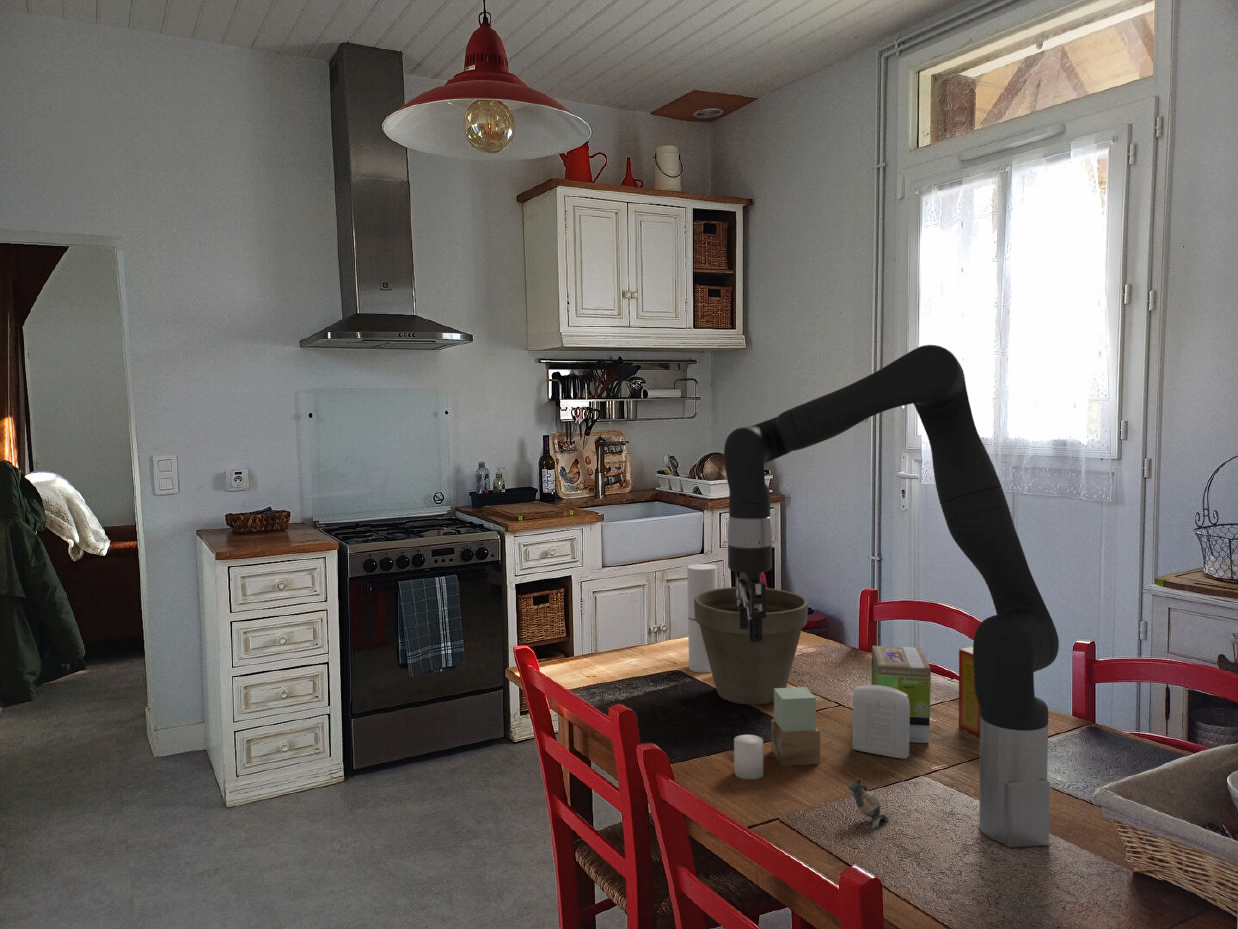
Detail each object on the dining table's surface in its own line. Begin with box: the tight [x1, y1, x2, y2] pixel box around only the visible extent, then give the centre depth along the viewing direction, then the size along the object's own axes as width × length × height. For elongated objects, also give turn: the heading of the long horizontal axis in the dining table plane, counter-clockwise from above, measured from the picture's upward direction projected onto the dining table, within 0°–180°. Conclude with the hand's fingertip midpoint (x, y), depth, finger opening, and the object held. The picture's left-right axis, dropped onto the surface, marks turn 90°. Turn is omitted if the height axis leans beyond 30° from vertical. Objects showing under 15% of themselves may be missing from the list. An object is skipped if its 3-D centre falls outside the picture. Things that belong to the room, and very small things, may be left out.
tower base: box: [770, 718, 821, 767], centre depth 164 cm, size 7×7×6 cm
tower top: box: [773, 686, 817, 732], centre depth 163 cm, size 6×6×6 cm
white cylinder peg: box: [733, 734, 764, 780], centre depth 157 cm, size 5×5×6 cm
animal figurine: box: [847, 779, 890, 832], centre depth 139 cm, size 5×5×6 cm
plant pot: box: [694, 586, 809, 706], centre depth 198 cm, size 25×25×22 cm
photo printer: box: [851, 684, 910, 760], centre depth 165 cm, size 10×4×12 cm, turn 60°
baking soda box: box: [958, 646, 980, 739], centre depth 175 cm, size 10×6×16 cm
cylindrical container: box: [686, 563, 718, 673], centre depth 218 cm, size 7×7×25 cm
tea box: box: [870, 645, 932, 744], centre depth 176 cm, size 15×10×15 cm
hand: (750, 634), depth 156 cm, fingers open, 8 cm apart
